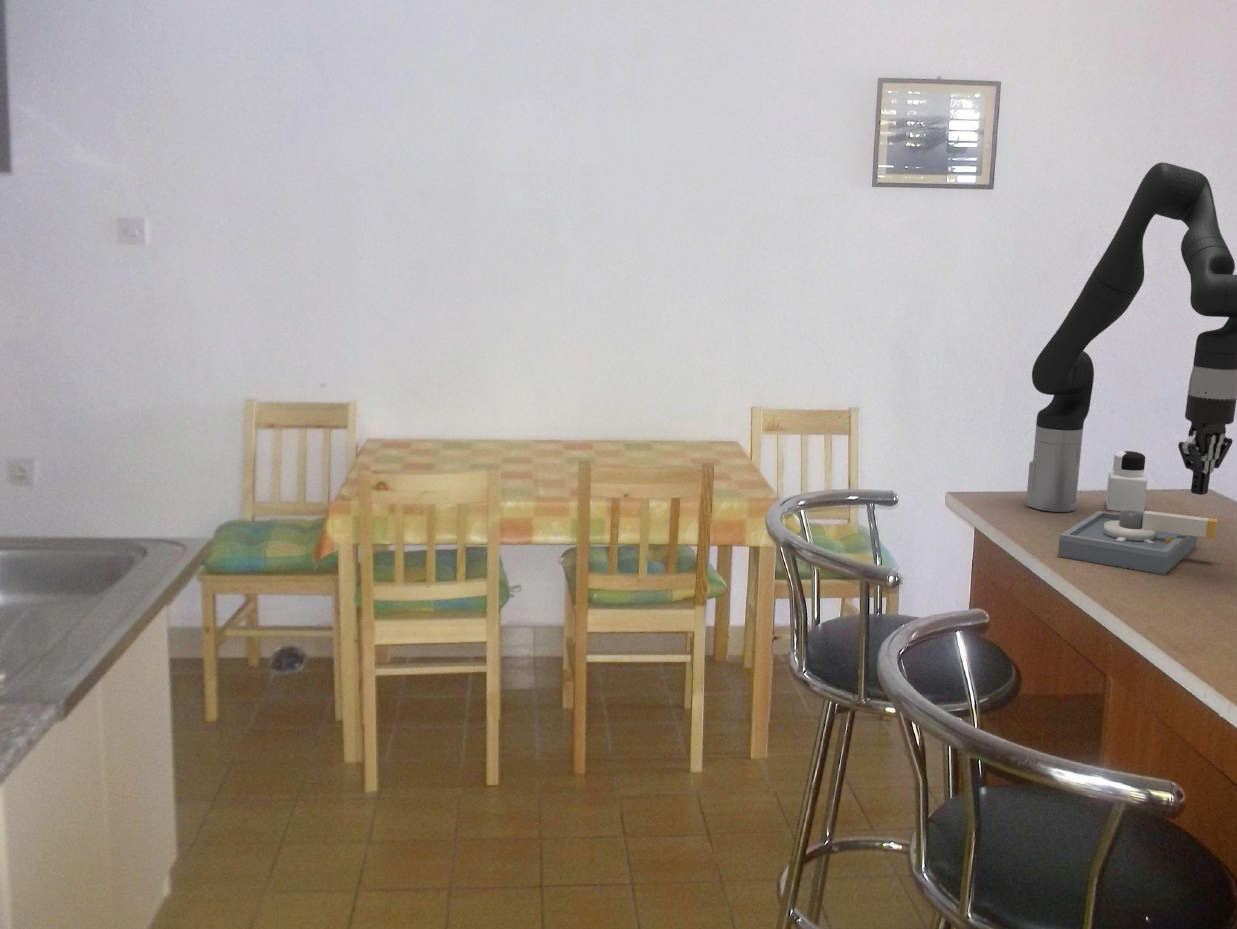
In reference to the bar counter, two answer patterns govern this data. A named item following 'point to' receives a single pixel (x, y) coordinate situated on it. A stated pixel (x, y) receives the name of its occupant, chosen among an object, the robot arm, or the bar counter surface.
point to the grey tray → (1123, 546)
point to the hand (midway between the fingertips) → (1199, 493)
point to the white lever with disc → (1158, 525)
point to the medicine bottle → (1127, 482)
